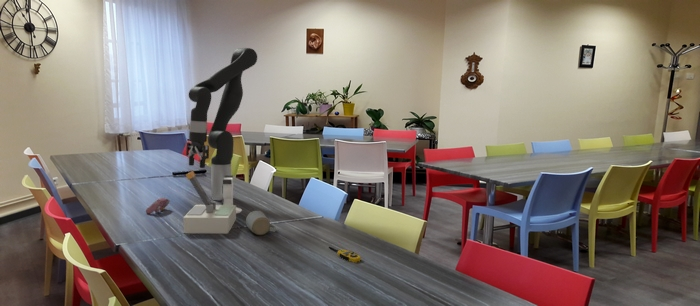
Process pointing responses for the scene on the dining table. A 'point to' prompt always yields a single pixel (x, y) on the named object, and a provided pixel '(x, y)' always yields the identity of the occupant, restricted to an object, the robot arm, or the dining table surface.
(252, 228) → the ceramic mug
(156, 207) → the video game controller
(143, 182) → the dining table surface
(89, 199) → the dining table surface
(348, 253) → the yellow walkie-talkie
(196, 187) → the lever
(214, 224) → the switch box
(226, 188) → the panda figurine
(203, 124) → the robot arm
